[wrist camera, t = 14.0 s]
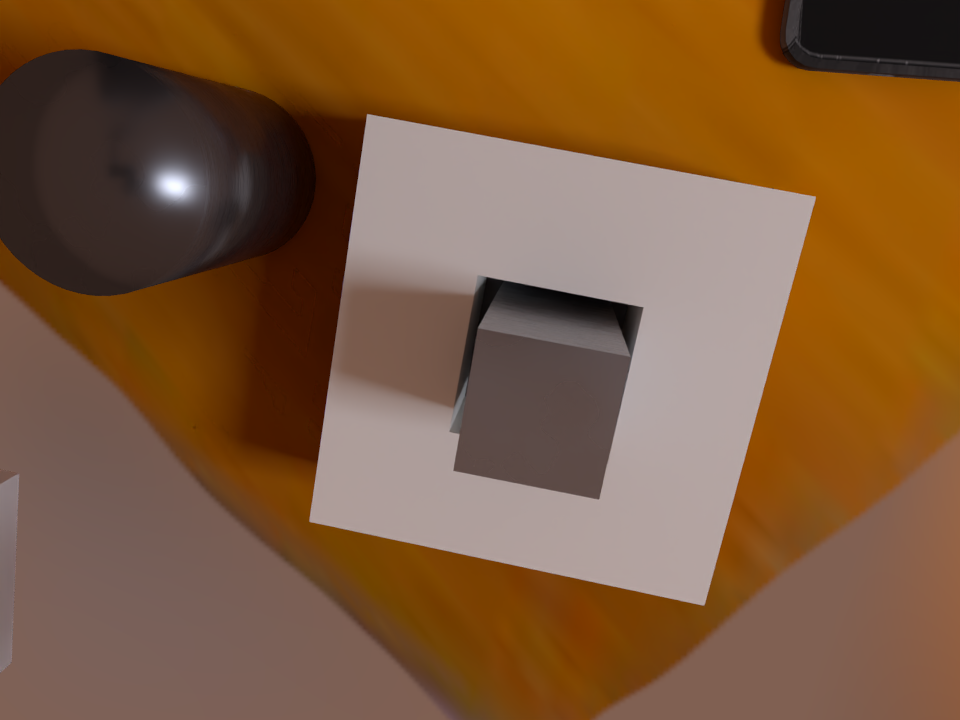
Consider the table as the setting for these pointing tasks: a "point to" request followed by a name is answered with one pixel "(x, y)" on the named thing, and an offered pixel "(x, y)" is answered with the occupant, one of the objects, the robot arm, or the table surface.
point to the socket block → (568, 268)
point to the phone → (874, 37)
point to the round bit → (142, 172)
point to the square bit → (543, 391)
